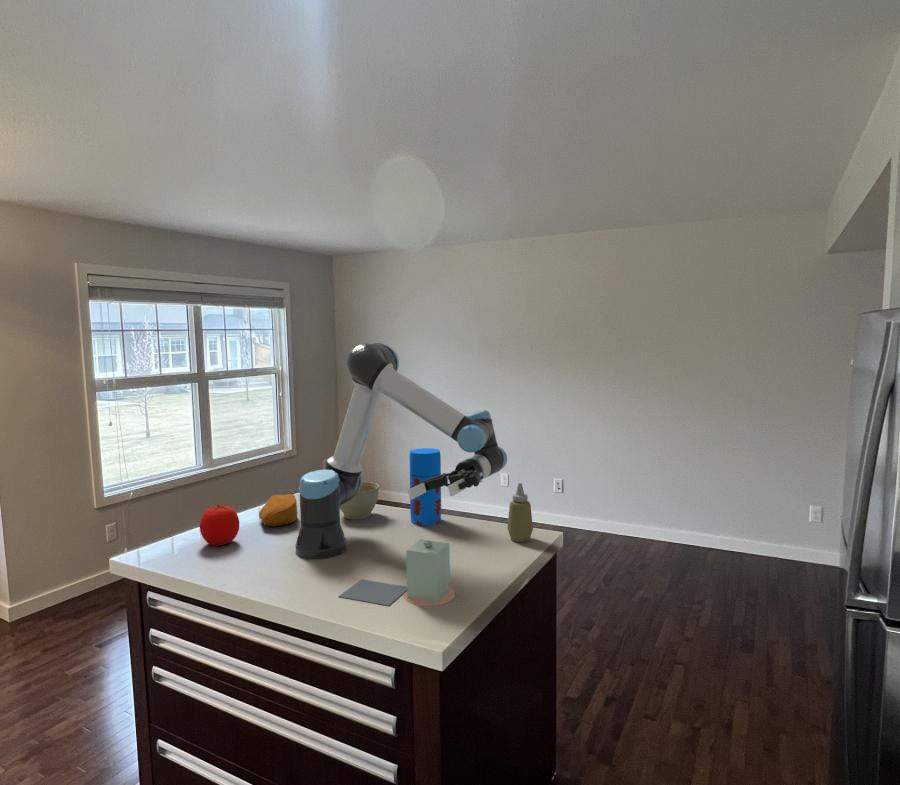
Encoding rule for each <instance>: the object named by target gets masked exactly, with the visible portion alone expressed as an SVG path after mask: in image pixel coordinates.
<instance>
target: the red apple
mask: <svg viewBox="0 0 900 785" xmlns="http://www.w3.org/2000/svg"><path fill="white" fill-rule="evenodd" d="M239 531H240V518H239V516H238V513H237V511H236V510H235V508H233V507H231V506H229V505H227V504H226V505H225V504H219V503H218V504H215V505H213V506H210V507H207V509H206V510H205V511H204V512H203V513H202V516H201V518H200V521H199V532H200V534H201V537H202V538H203V540H204V541H205V542H206V543H207V544H208V545H211V546H215V547H218V546H223V545H226V544H229V543H231V542H233V541H234V539H236V537H237V536H238V534H239Z"/></svg>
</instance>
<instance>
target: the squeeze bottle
mask: <svg viewBox="0 0 900 785" xmlns="http://www.w3.org/2000/svg"><path fill="white" fill-rule="evenodd" d="M515 492H516V493H514V494H512V501H510V502H509V509H508V517H507V525H506V526H507V530H508V533H509V534H508V535H509V537H510V540H511V541H513V542H517V543H524V542H525V543H526V542H529V540H531V536H532V533H533V530H534V527H533V526H534V525H533V515H532V505H531V502H530V501H529V500H528V494H526V493H525V491H524V487H523V483H517V488H516V491H515Z"/></svg>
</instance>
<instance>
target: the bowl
mask: <svg viewBox="0 0 900 785" xmlns="http://www.w3.org/2000/svg"><path fill="white" fill-rule="evenodd" d="M455 597H456V591H455V589H453V587H451V586H450V590H449V591H448V592H447V594H446V595H445V596H444V597H443V598H442V599H441V600H440V601H439V602H438V603H433V602H427V601H422V600H416V599H410V598H407V591H406V592H405V593H403V594H402V598H403V600H404V601H406V602H407V603H410V604H412V605H414V606H415V605H416V606H419V607H420V606H421V607H430V606H432V607H433V606H434V607H435V606H440V605H443V604H446V603H448V602H451V601H452V600H453V599H454V598H455Z"/></svg>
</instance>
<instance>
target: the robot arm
mask: <svg viewBox="0 0 900 785" xmlns="http://www.w3.org/2000/svg"><path fill="white" fill-rule="evenodd" d="M399 365H400V359H399V356H398V354H397V352H396V350H394V348H392V346H389V345H387V344H384V343H382V342H381V343H380V342H373V343H361V344H360V343H359V344H358V345H356V346H355V347H353V348H352V349H351V350H350V352H349V353H348V355H347V359H346V367H347V372H348V373H349V374H350V376H351V382H352V384H353V386H354V387H353V390H352V395H351V398H350V401H349V404H348V406H347V411H346V413H345V417H344V420H343V424H342V428H341V430H340V433H339V437H338V440H337V443H336V446H335V450H334V453H333V455H332V456H331V457H329V458H327V460H326V462H325V463H326V464H325V467H324V469H319V470H318V469H317V470H314V471H309V472H307V473H305V474H303V475H302V476H301V478H300V479H299V487H298V493H299V507H300V509H299V512H300V529H299V532H298V535H297V537H296V538H297V539H296V542H295V554H296V556H299V557H302V558H306V559H326V558H330V557H334V556H338V555H341V554H342V553H344V552H345V551H346V550H347V539H346V537H345V533H344V530H343V527H342V525H341V510H340V506H341V505H343V504H345V503H346V502H348V501H350V500H351V499H353V498H354V497H355V496H356V494H357V493H358V492H359V490H360V488H361V484H362V482H363V481H362V480H363V479H362V476H361V474H362V471H363V466H362V465H361V463H360V462H361V459H362V456H363V452H364V450H365V446H366V443H367V440H368V436H369V433H370V429H371V427H372V424H373V420H374V417H375V413H376V411H377V408H378V404H379V401H380V398H381V395H382V394H383V395H385V396H386V397H387V398H389V399H391V400H392V401H394V402H396V403H397V404H398V405H400V406H402V407H403V408H405V409H406V410H408V411H409V412H411V413H413V414H414V415H416V416H417V417H418V418H419V419H422V420H423V421H424V422H426V423H428V424H429V425H431V426H432V427H434V428H436V429H437V430H438V431H439V432H441V433H443V434H445V435H446V436H447V437H449V438H451V439H452V440H454V441H455V442H456V443H457V445H458V446H459V447H460V449H461V450H462V451H464V452H466V453H474V455H471V456H469V457H467V458H466V459H464V460H462V461H459V462H458V463H457V464H456V465H455V469H454V470H452V471H450V472H447V473H446V472H443V473H441V475H439V476H436V477H433V478H430V479H427V480H424V481H421V482H418V483H416V484H417V486H415V487H413V488H411V489H410V488H409V489H407V493H408V498H409V501H410V500H412V499H414V498H416V497H418V496H420V495H422V494H423V495H424V494H425V493H426V491H428V490H432V489H435V488H439V487H441V488H442V487H447V488H448V492H449V497H453V496H455V495H457V494H459V493H460V492H462V491H464V490H466V489H468V488H472V486H473V487H478V486H479V485H480V483H483V480H485V479H486V478H488V477H490V476H492V475H494V474H497V473H499V472H500V471H501V470H502V469H504V468H505V466H506V465H507V463H508V455H507V453H506V451H505V450H504V448H502V447H501V446H499V444H498V442H497V438H496V437H497V436H496V432H495V430H494V429H495V428H494V424H493V419H492V417H491V414H490V413H491V412H490V411H489V410H487V409H483V410H478V411H474V412H471V413H468V414H467V415H465V414H464V413H462V412H461V411H459V410H458V409H457V408H454V407H453V406H451V405H450V404H448V403H447V402H445V401H443V400H442V399H440V398H438V396H436V395H434V394H432V393H431V392H430V391H428V390H427V389H425V388H423V387H422V386H420V385H419V384H417V383H415V382H414V381H413V380H411V379H410V378H408V377H406V376H405V375H403V374H402V373H400V372H398V370H399Z"/></svg>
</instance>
